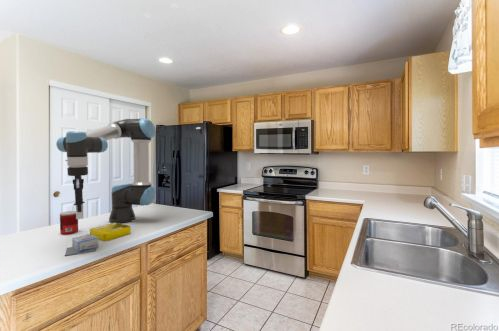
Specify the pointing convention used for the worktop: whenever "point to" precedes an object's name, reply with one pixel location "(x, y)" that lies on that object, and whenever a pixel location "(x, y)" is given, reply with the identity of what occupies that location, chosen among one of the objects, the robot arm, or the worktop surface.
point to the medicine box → (84, 242)
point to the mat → (73, 252)
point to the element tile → (110, 231)
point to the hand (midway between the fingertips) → (79, 218)
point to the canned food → (68, 222)
